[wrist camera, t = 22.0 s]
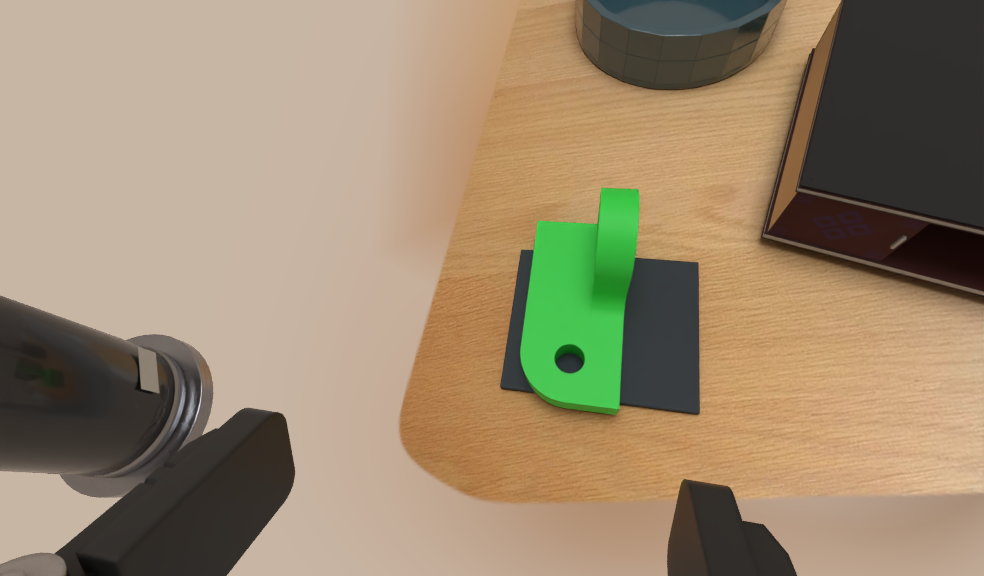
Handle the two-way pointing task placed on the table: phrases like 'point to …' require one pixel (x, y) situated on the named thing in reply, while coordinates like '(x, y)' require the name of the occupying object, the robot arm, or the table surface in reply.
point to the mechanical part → (581, 304)
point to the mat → (635, 336)
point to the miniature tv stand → (890, 143)
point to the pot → (675, 38)
